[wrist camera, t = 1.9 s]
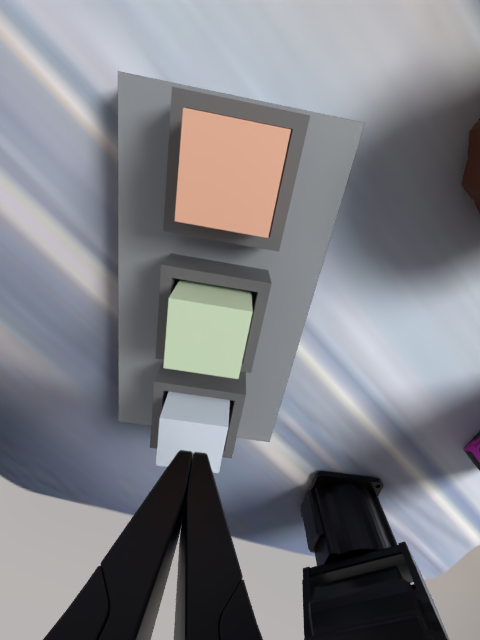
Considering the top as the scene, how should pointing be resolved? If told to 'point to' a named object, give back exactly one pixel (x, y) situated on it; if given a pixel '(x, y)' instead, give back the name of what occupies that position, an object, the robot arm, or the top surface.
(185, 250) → the button panel
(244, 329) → the sage button
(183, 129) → the terracotta button
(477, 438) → the candy bar box
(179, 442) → the slate button
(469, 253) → the top surface
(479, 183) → the muffin
